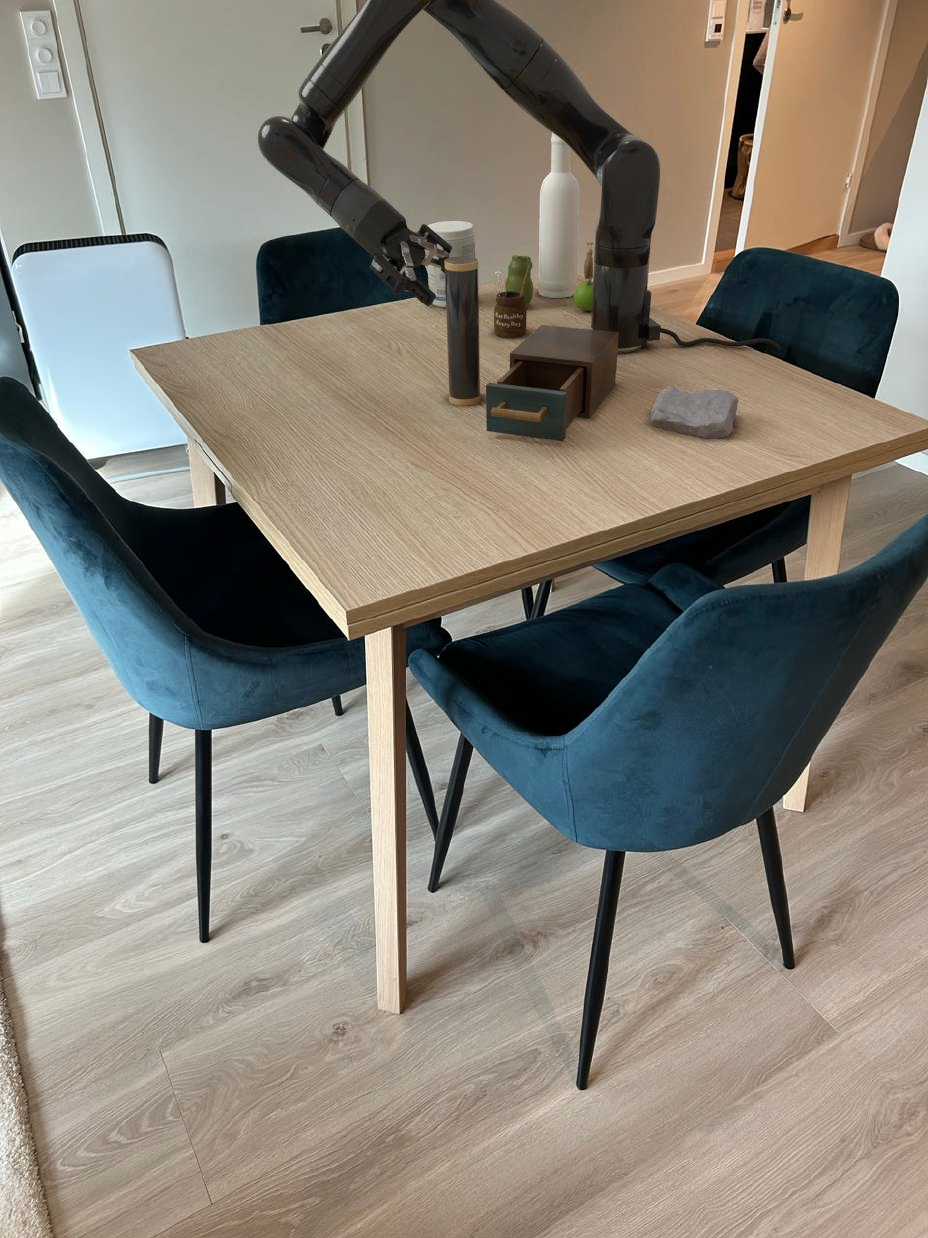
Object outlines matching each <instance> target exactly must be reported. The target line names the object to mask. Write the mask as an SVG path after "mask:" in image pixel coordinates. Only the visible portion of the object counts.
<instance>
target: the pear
mask: <svg viewBox="0 0 928 1238" xmlns="http://www.w3.org/2000/svg"><path fill="white" fill-rule="evenodd" d="M528 265H529V268H528ZM527 268H528V273H527V277H526V281H525V285H524V289H523V292H522V293H523V294H524V297H525V301H524V304H525V306H526V307H527V306H528V305H530V303H531V302H532V300H533V297H534V283H533V279H532V275H531V274H532V273H531V271H532V268H533V261H532V259H531V256H528V255H515V254H513V255H512V256H511V260H510V262H509V264H508V268H507V276H506V278H507V280H505V283H504V289H505V288H506V291H516V292H521V289H522V286H523V282H524V278H525V275H526V271H527ZM507 284H508V289H507Z"/></svg>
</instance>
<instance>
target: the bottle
mask: <svg viewBox="0 0 928 1238" xmlns="http://www.w3.org/2000/svg"><path fill="white" fill-rule="evenodd" d="M550 142H551V150H550V151H551V155H550V157H551V158H550V159H551V161H550V166H551V167H550V172H549V173H548V174H547V175H546V176H545V178H544V179H543V180H542V183H541V186H540V189H539V219H538V221H539V222H538V223H539V225H538V227H539V229H538V276H537V287H538V288H537V289H538V292H537V293H538V294H539V295H540V296H541V297H543V298H548V299H566V298H570V297H571V298H572V297H573V296H574V291H575V289H576V288H577V286H578V262H579V261H578V259H579V235H580V234H579V230H580V229H579V228H580V205H581V204H580V203H581V189H580V185H579V181H578V178H577V177H575V175H574V174H573V173H572V172H571V150H572V149H571V148H570V147H569V145H567V144H566V143H565V142H564V141H563V140H562V139H561V138H559V137H558V136H557V135H555V134H554V133H552V132H551V138H550Z"/></svg>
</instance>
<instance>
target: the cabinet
mask: <svg viewBox="0 0 928 1238" xmlns="http://www.w3.org/2000/svg"><path fill="white" fill-rule="evenodd" d="M618 335H619V332H610V331H600V330H590V329H589V328H588V329H587V328H580V327H579V328H577V327H567V326H558V325H557V326H556V325H547V324H541V325H539V326H538V327H537V328H536V329H534V331H533V332H531V334H530V335H528V336H527V337H526V338H525V339H524V340H523V341H522V342H520V343H519V344H518V345H517V346H516V347H515V348H513V350H512V351H510V353H509V370H510V369H511V368H512V367H513V366H514V365H515V364H516V363H517V362H518V361H519V360H528V361H538V362H547V363H556V364H565V365H574V366H583V367H587V376H586V398H585V406H584V408H583V409H582V410H581V411H580V413H579V414H578V415H577V416H576V418H579V419H586V420H590V419H591V418H592V416H593V415H594V414H595V413H596V411H597V410H598V409H599V407H601V405H602V403H603V402H604V401H605V400H606V398H608V396H609V395H610V394H611V392H612V391H613V389H614V388H615V387H616V381H617V366H618V365H617V363H618V353H617V351H618Z"/></svg>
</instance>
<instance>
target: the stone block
mask: <svg viewBox="0 0 928 1238" xmlns="http://www.w3.org/2000/svg"><path fill="white" fill-rule="evenodd" d="M738 405H739V398H738V397H737V396H736V395H735V394H734V393H731V392H730V391H729V390H725V389H704V390H701V391H695V392H689V391H686V390H685V391H684V390H681V389H678V388H676V387H673V386H669V387H667V388H664V389H663V390H661V391H660V392H659V393H658V394H657V397H656V399H655V402H654V404H653V406H652V409H651V412H650V425H652V426H654V427H656V428H660V429H663V430H669V431H674V432H677V433H680V434H684V435H689V436H696V437H699V438H703V439H712V438H713V439H716V438H717V439H719V438H720V439H721V438H725V437H727V436H730V435H731V433H733V432H734V422H735V419H736V416H737V411H738V407H739V406H738Z"/></svg>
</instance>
